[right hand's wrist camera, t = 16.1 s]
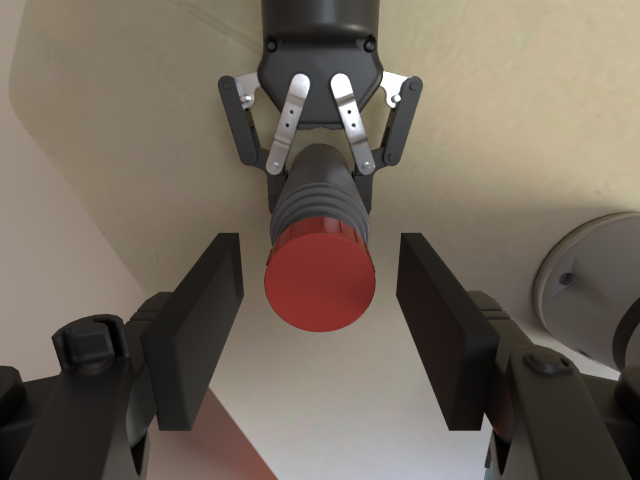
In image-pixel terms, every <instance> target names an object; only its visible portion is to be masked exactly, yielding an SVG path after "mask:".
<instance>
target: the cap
mask: <svg viewBox="0 0 640 480" xmlns="http://www.w3.org/2000/svg"><path fill="white" fill-rule="evenodd" d="M266 265H268V266H267V269H266V273H265V279H264V284H265V292H266V296H267V299H268V301H269V303H270V305H271V307H272V308H273V310H274V311H275V312H276V313H277V314H278V315H279V316H280V317H281V318H282V319H283V320H284V321H286V322H287V323H289V324H290V325H292V326H294V327H297V328H299V329H302V330H306V331H311V332H328V331H334V330H338V329H341V328H343V327H346V326H348V325H350V324H351V323H353V322H354V321H356V320H357V319H358V318H359V317H360V316H361V315H362V314H363V313H364V312H365V311H366V309H367V308H368V307H369V305H370V303H371V301H372V298H373V296H374V291H375V282H376V281H375V269H374V265H373V262H372V259H371V256H370V253H369V250H368V247H367V244H366V242H365V241H363V239H362V238H361V237H360V235H359V234H358V233H357V231H356V229H353V228H351V227H350V226H349V225H347V224H345V223H343V222H342V220H340V221H339V220H336V219H332V218H326V217H325V216H323V217H314V218H305V219H304V220H301V221H299V222H296V223H295V224H293V225H292V224H291V225H290V226H289V228H287V229H286V230H285V231H284V232H283V233H282V234H281V235H279V236H278V237H277V241H276V243H275V245H274V247H273V249H271V251H270V254H269V257H268V260H267V263H266Z"/></svg>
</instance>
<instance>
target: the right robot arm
mask: <svg viewBox="0 0 640 480" xmlns="http://www.w3.org/2000/svg"><path fill="white" fill-rule="evenodd" d="M243 297H244V290H243V278H242V267H241V255H240V243H239V233H219V234H218V235H217V236H216V237H215V239H214V240H213V241H212V243H211V244H210V245H209V247H208V248H207V249H206V250H205V252H204V253H203V254H202V256H201V257H200V258H199V260H198V261H197V262H196V263H195V265H194V266H193V267H192V269H191V270H190V271H189V273H188V274H187V275H186V276H185V278H184V279H183V280H182V282H181V283H180V284H179V286H178V287H177V288H176V289H175V291H174V292H159V293H158V294H156V295H154V296H153V297H151V298H149V299H148V300H146V301H145V302H144V303H143V304H142V306H141V307H140V308H139V309H138V310H137V312H136V313H135V314H134V315H133V316H132V317H131V318H130V321H128V322H127V323H126V324H125V325H124V324H123V320H122V319H121V318H120V317H118V316H116V315H110V314H100V315H93V316H88V317H84V318H81V319H78V320H76V321H73V322H71V323H69V324H67V325H65V326H64V327H62V328H60V329H59V330H58V331H57V332H56V333H55V334H54V335H53V336H52V341H53V344H54V347H55V350H56V353H57V357H58V360H59V363H60V366H61V369H62V370H61V372H60V374H59V375H57V376H52V377H47V378H43V379H38V380H33V381H28V382H22V379H21V376H20V374H19V371H18V370H17V369H15V368H14V367H10V366H0V480H146V474H147V466H148V458H149V450H150V439H149V434H148V430H147V429H148V427H149V425H150V423H151V421H152V419H153V417H154V416H155V414H156V416H157V421H158V426H159V430H160V431H191V429H192V426H193V424H194V421H195V419H196V416H197V414H198V411H199V409H200V406H201V403H202V401H203V398H204V396H205V393H206V391H207V388H208V386H209V383H210V381H211V378H212V375H213V373H214V370H215V368H216V365H217V363H218V360H219V358H220V355H221V353H222V350H223V347H224V345H225V342H226V340H227V337H228V335H229V332H230V330H231V327H232V325H233V322H234V319H235V317H236V314H237V312H238V309H239V307H240V304H241V302H242V299H243ZM396 297H397V299H398V302H399V304H400V307H401V309H402V312H403V314H404V317H405V319H406V322H407V325H408V327H409V330H410V332H411V335H412V337H413V340H414V342H415V345H416V347H417V350H418V353H419V355H420V358H421V360H422V363H423V365H424V368H425V370H426V373H427V375H428V378H429V381H430V383H431V386H432V388H433V391H434V393H435V396H436V398H437V401H438V403H439V406H440V409H441V411H442V414H443V416H444V419H445V421H446V424H447V426H448V429H449V431H480V430H481V426H482V421H483V416H484V412H485V414H486V416H487V417H488V419H489V421H490V423H491V425H492V427H493V429H492V434H491V438H490V443H489V447H488V451H487V456H486V461H485V468H487V469H486V472H485V477H484V480H640V213H634V212H628V213H618V214H612V215H608V216H605V217H602V218H599V219H596V220H594V221H591V222H589V223H587V224H585V225H583V226H581V227H580V228H578V229H576V230H575V231H573V232H572V233H571V234H569V235H568V236H567V237H566V238H564V239H563V240H562V241H561V242H560V243H559V244H558V245H557V246H556V247H555V248H554V249H553V250H552V252H551V253H550V254H549V255H548V257H547V258H546V260H545V261H544V263H543V265H542V266H541V268H540V270H539V273H538V275H537V278H536V282H535V286H534V293H533V300H534V307H535V311H536V314H537V316H538V318H539V320H540V322H541V323H542V325H543V326H544V327H545V328H546V329H547V330H548V331H549V332H550V333H551V334H552V335H553V336H554V337H555V338H556V339H557V340H558V341H559V342H561V343H562V344H564V345H565V346H567V347H568V348H570V349H572V350H574V351H576V352H577V353H579V354H580V353H581V355H582V354H583V356H584V355H585V357H586V356H587V357H586V358H588V357H589V358H588V359H590V358H591V359H590V360H592V359H593V360H595V361H597V362H599V363H601V364H604V365H606V366H608V367H610V368H612V369H614V370H616V371H619V372H620V373H621V374H620V376H619V379H618V381H615V380H610V379H606V378H601V377H596V376H591V375H586V374H582V373H580V372H579V370H578V368H577V367H576V366H575V364H574V363H573V362H572V361H571V360H569V359H568V358H567V357H565V356H564V355H563V354H561V353H559V352H556V351H554V350H552V349H550V348H547V347H543V346H539V345H534V344H533V343H532V341H531V340H530V339H529V338H528V337H527V336H526V335H525V334H524V332H523V331H522V330H521V329H520V328H519V327H518V326H517V324H516V323H515V322H514V321H513V320H511V319H510V317H509V315H508V314H507V313H506V312H505V311H503V309H502V307H501V306H500V305H499V304H498V303H497V302H496V301H495V300H494V299H493V298H491V297H490V296H488V295H486V294H485V293H483V292H481V291H465V289H464V288H463V287H462V286H461V284H460V283H459V282H458V280H457V279H456V278H455V276H454V275H453V274H452V273H451V271H450V270H449V269H448V267H447V266H446V265H445V263H444V262H443V261H442V260H441V258H440V257H439V256H438V254H437V253H436V252H435V250H434V249H433V248H432V247H431V245H430V244H429V243H428V241H427V240H426V239H425V237H424V236H423V235H422V234H421V233H401V243H400V255H399V267H398V278H397V290H396ZM593 360H592V361H593ZM595 361H594V362H595ZM597 362H595V363H597ZM599 363H597V364H599ZM601 364H600V365H601Z"/></svg>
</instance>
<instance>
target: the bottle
mask: <svg viewBox="0 0 640 480" xmlns="http://www.w3.org/2000/svg"><path fill="white" fill-rule="evenodd" d="M323 216H325V217H326V218H332V219H336V220H339V221H340V220H342V222H343V223H345V224H347V225H349V226H350V227H351V228H353V229H356V231H357V233H358V234H359V235H360V237H361V238H362V239H363V241H365V242H366V244H367V246H368V241H369V236H370V222H369V217H368V214H367V212H366V209H365V207H364V204H363V202H362V200H361V197H360V195H359V193H358V190H357V188H356V185H355V183H354V181H353V178H352V176H351V174H350V171H349V169H348V166H347V164H346V162H345V159H344V158H343V156H342V155H341V153H340V152H339V151H338V150H337V149H335V148H334V147H332V146H329V145H326V144H314V145H311V146H308V147H307V148H305V149H304V150H302V151H301V152H300V153H299V155H298V156H297V158H296V160H295V162H294V164H293V167H292V169H291V171H290V174H289V176H288V178H287V181H286V183H285V186H284V188H283V190H282V193H281V195H280V197H279V200H278V202H277V204H276V207H275V209H274V212H273V214H272V218H271V222H270V235H271V241H272V246H273V247H274V245H275V243H276V241H277V237H278V236H279V235H281V234H282V233H283V232H284V231H285V230H286V229H287V228H289V226H290V225H291V224H292V225H293V224H295V223H296V222H299V221H301V220H304V219H305V218H314V217H323Z"/></svg>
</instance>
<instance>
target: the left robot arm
mask: <svg viewBox="0 0 640 480" xmlns="http://www.w3.org/2000/svg"><path fill="white" fill-rule="evenodd" d="M379 2H380V0H261V6H262V26H263V55H262V59H261V61H260V64H259V66H258V69H257V72H253V73H249V74H245V75H241V76H238V77H230V76H223V77H221V78H220V79H219V81H218V88H219V92H220V95H221V98H222V101H223V105H224V108H225V111H226V114H227V117H228V121H229V124H230V127H231V130H232V134H233V137H234V140H235V143H236V147H237V150H238V153H239V156H240V159H241V161H242V163H243V164H245V165H248V166H250V165H252V166H255V167H257V168H260V169H262V170H263V171H264V172H265V173H266V175H267V179H268V196H269V197H268V198H269V210H270V212H271V214H273V212H274V209H275V207H276V204H277V202H278V200H279V197H280V195H281V193H282V190H283V188H284V186H285V183H286V181H287V178H288V170H285V163H286V160H287V157H288V154H289V152H290V149H291V146H292V143H293V140H294V137H295V134H296V131H297V129H298V130H309V129H313V128H316V127H325V128H328V129H332V130H343V129H344V132H345V135H346V138H347V141H348V143H349V146H350V149H351V152H352V155H353V158H354V161H355V171H352V178H353V181H354V183H355V185H356V188H357V190H358V193H359V195H360V197H361V200H362V202H363V204H364V207H365V209H366V212H367V214H368V215H369V213H370V210H371V199H372V179H373V175H374V173H375V172H376V171H377V170H378V169H381V168H383V167H386V166H395V165H396V164H398V163H399V161H400V159H401V156H402V152H403V149H404V146H405V143H406V139H407V136H408V133H409V130H410V126H411V123H412V120H413V117H414V114H415V110H416V107H417V104H418V101H419V97H420V94H421V91H422V87H423V83H422V80H421V79H420V78H419V77H416V76H411V77H403V76H400V75H396V74H392V73H388V72H384V70H383V66H382V64H381V62H380V59H379V56H378V51H377V42H378V22H379ZM260 87H262V88H263V89H264V91H265V92H266V94H267V95H268V96H269V98H270V99H271V101H272V102H273V103H274V105H275V106H276V107H277V109H278V110H279V112H280V113H281V116H280V120H279V123H278V126H277V129H276V132H275V135H274V140H273V144H272V147H271V150H270V151H268V150H266V149H263V148H261V146H260V143H259V139H258V136H257V132H256V129H255V125H254V122H253V118H252V115H251V111H250V108H251V107H253V106H254V105H255V103H256V92H257V90H258V89H259V88H260ZM379 87H381V88H382V89H383V90H384V92H385V98H384V100H385V104H386V105H387V106H388V107H390V108H391V110H390V114H389V117H388V121H387V124H386V128H385V131H384V135H383V138H382V142H381V145H380V148H378V149H375V150H372V151H370V147H369V144H368V141H367V136H366V133H365V130H364V126H363V123H362V120H361V117H360V113H361V111H362V110H363V109H364V107H365V106H366V104H367V103H368V102H369V100H370V99H371V97H372V96H373V95H374V93H375V92H376V91H377V89H378V88H379Z"/></svg>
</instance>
